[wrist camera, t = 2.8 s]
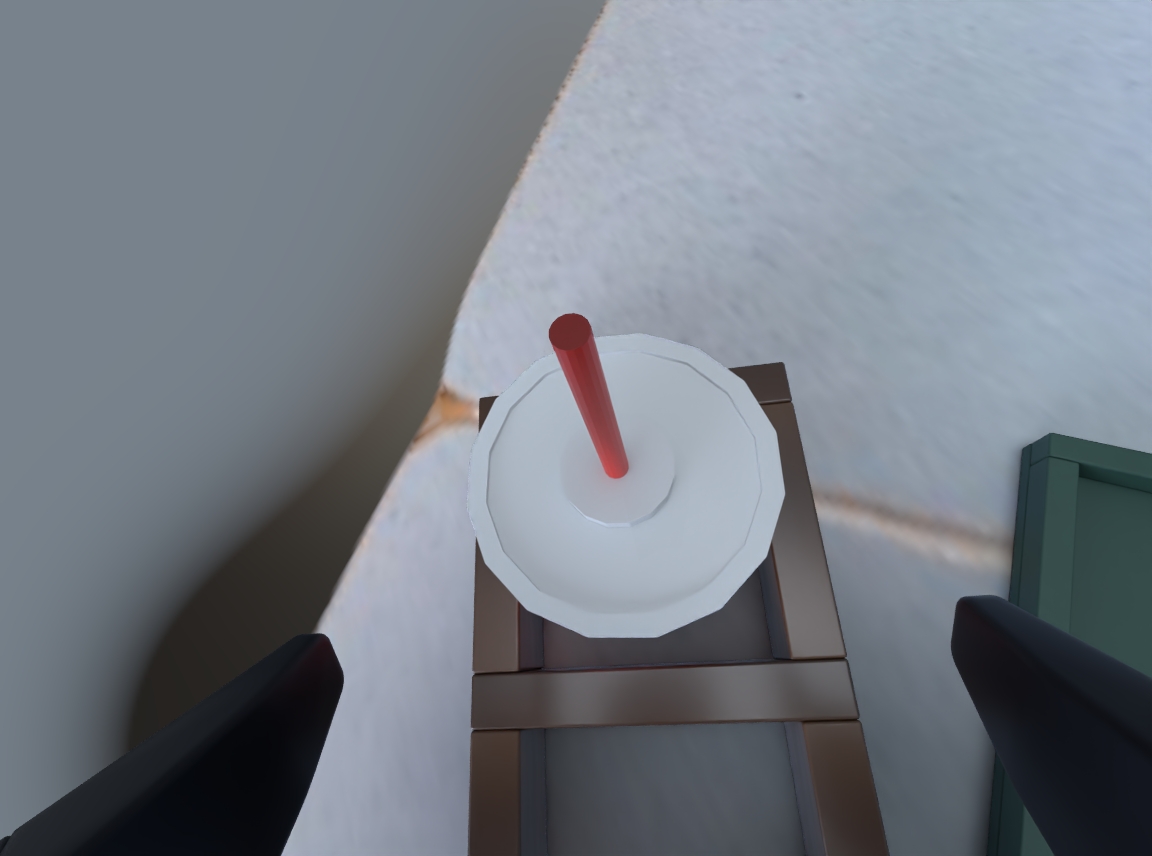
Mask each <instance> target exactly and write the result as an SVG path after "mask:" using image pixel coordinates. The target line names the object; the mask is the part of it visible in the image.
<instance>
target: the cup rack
mask: <svg viewBox="0 0 1152 856" xmlns="http://www.w3.org/2000/svg"><path fill="white" fill-rule="evenodd" d="M728 370H730V371H731V372H732V373H734V374H735V375H737V376H738V377H739V378H741V379H742V380H744V381H745V383H746V384H747V386H748V387H749V389H750V391H751V392H752V394H753V395H754V397H755V399H756V400H757V402H758V403H759V405H760V407H761V408H762V410H763V411H764V413H765V415H766V416H767V418H768V419H769V421H770V423H771V424H772V426H773V427H774V429H775V431H776V433H777V440H778V447H779V454H780V461H781V468H782V475H783V482H784V489H785V496H784V500H783V503H782V506H781V510H780V513H779V517H778V520H777V523H776V527H775V530H774V533H773V537H772V540H771V544H770V547H769V550H768V554H767V557H766V558H765V559H764V560H763V561H762V563H761V564H760V565H759V566H758V570H759V576H760V582H761V588H762V594H763V600H764V606H765V612H766V618H767V624H768V630H769V636H770V642H771V648H772V654H773V657H774V658H776V659H755V660H732V661H710V662H687V663H664V664H641V665H619V666H596V667H573V668H550V669H541V668H543V666H544V665H543V617H541V616H539V615H537V614H534V613H532V612H530V611H528V610H526V609H525V607H524V606H523V605H522V604H521V603H520V602H519V601H518V600H517V599H516V597H515V596H514V595H513V594H512V593H511V592H510V591H509V590H508V588H507V587H506V586H505V585H504V584H503V583H502V582H501V581H500V580H499V578H498V577H497V576H496V575H495V574H494V573H493V572H492V571H491V569H490V568H489V567H488V566H487V565H486V564H485V562H484V559H483V556H482V553H481V550H480V546H479V543H478V540H477V537H476V554H475V592H474V631H473V673H475V674H474V675H473V677H472V705H471V729H472V730H474V731H472V733H471V748H470V787H469V825H468V856H547V820H546V769H545V728H578V727H614V726H650V725H685V724H721V723H757V722H784V725H785V731H786V737H787V743H788V749H789V755H790V761H791V767H792V773H793V779H794V785H795V791H796V797H797V803H798V809H799V815H800V821H801V827H802V833H803V839H804V845H805V851H806V856H890V854H889V849H888V845H887V840H886V835H885V831H884V826H883V821H882V817H881V812H880V808H879V803H878V798H877V794H876V789H875V784H874V780H873V775H872V770H871V766H870V761H869V756H868V752H867V747H866V742H865V738H864V733H863V728H862V724H861V722H860V721H859V720H857V719H859V717H860V714H859V709H858V705H857V700H856V696H855V691H854V686H853V682H852V677H851V672H850V668H849V663H848V660H847V659H845V657H847V653H846V648H845V644H844V639H843V634H842V630H841V625H840V620H839V616H838V611H837V606H836V602H835V597H834V592H833V588H832V583H831V578H830V574H829V569H828V564H827V560H826V555H825V550H824V546H823V541H822V536H821V532H820V527H819V522H818V518H817V513H816V508H815V504H814V499H813V494H812V490H811V485H810V480H809V476H808V471H807V466H806V462H805V457H804V452H803V448H802V443H801V438H800V434H799V429H798V424H797V420H796V415H795V410H794V406H793V403H792V402H791V401H792V397H791V393H790V388H789V383H788V379H787V374H786V369H785V365H784V363H783V362H779V363H770V364H762V365H753V366H745V367H737V368H728ZM498 397H499V396H492V397H484V398H480V401H479V432H480V430H481V428H482V426H483V424H484V422H485V420H486V418H487V416H488V414H489V412H490V410H491V408H492V406H493V404H494V402H495V400H496V398H498Z"/></svg>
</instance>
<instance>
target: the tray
mask: <svg viewBox="0 0 1152 856" xmlns="http://www.w3.org/2000/svg"><path fill="white" fill-rule="evenodd" d="M1009 602H1010V603H1012V604H1014V605H1016V606H1017V607H1019V608H1021V609H1023V610H1025V611H1027V612H1029V613H1031V614H1032V615H1034V616H1036V617H1038V618H1040V619H1042V620H1044V621H1046V622H1048V623H1049V624H1051V625H1053V626H1055V627H1057V628H1059V629H1061V630H1063V631H1064V632H1066V633H1068V634H1070V635H1072V636H1074V637H1076V638H1078V639H1080V640H1081V641H1083V642H1085V643H1087V644H1089V645H1091V646H1093V647H1095V648H1096V649H1098V650H1100V651H1102V652H1104V653H1106V654H1108V655H1110V656H1111V657H1113V658H1115V659H1117V660H1119V661H1121V662H1123V663H1125V664H1127V665H1128V666H1130V667H1132V668H1134V669H1136V670H1138V671H1140V672H1142V673H1143V674H1145V675H1147V676H1149V677H1151V678H1152V454H1150V453H1145V452H1140V451H1136V450H1131V449H1126V448H1122V447H1117V446H1112V445H1107V444H1103V443H1098V442H1093V441H1088V440H1084V439H1079V438H1074V437H1069V436H1065V435H1060V434H1055V433H1049V434H1048V435H1046V436H1044V437H1042V438H1041V439H1039V440H1037V441H1036V442H1034V443H1033V444H1030V445H1028V446H1026V447H1025V448H1023V454H1022V465H1021V476H1020V488H1019V499H1018V510H1017V522H1016V533H1015V544H1014V556H1013V567H1012V578H1011V590H1010V601H1009ZM987 856H1054V854H1053V853H1052V851H1051V849H1050V848H1049V846H1048V844H1047V843H1046V841H1045V839H1044V837H1043V836H1042V834H1041V832H1040V831H1039V829H1038V827H1037V826H1036V824H1035V822H1034V821H1033V819H1032V817H1031V816H1030V814H1029V812H1028V811H1027V809H1026V807H1025V805H1024V804H1023V802H1022V800H1021V798H1020V797H1019V795H1018V793H1017V791H1016V790H1015V788H1014V786H1013V784H1012V782H1011V780H1010V778H1009V776H1008V774H1007V772H1006V770H1005V768H1004V766H1003V764H1002V762H1001V760H1000V758H999V756H998V754H997V752H996V760H995V771H994V782H993V794H992V805H991V816H990V828H989V839H988V850H987Z"/></svg>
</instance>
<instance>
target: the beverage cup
mask: <svg viewBox="0 0 1152 856" xmlns="http://www.w3.org/2000/svg"><path fill="white" fill-rule="evenodd" d="M549 339H550V341H551V344H552V346H553V348H554V351H555V352H554V353H552V354H550V355H548V356H545V357H543V358H541V359H539V360H537V361H535V362H534V363H533V364H532V365H531V366H530V367H529V368H528V369H527V370H526V371H525V372H524V373H523V374H522V375H520V376H519V377H518V378H517V379H516V380H515V381H514V382H513V383H512V384H511V385H510V386H509V387H508V388H507V389H506V390H505V391H504V392H503V393H502V394H501V395H500V396H499V397H498V398H496V400H495V402H494V404H493V406H492V408H491V410H490V412H489V414H488V416H487V418H486V420H485V422H484V424H483V426H482V428H481V430H480V432H479V434H478V436H477V438H476V441H475V443H474V445H473V447H472V449H471V456H470V469H469V481H468V494H467V510H468V513H469V516H470V519H471V522H472V525H473V528H474V531H475V534H476V537H477V540H478V543H479V546H480V550H481V553H482V556H483V559H484V562H485V564H486V565H487V566H488V567H489V568H490V569H491V571H492V572H493V573H494V574H495V575H496V576H497V577H498V578H499V580H500V581H501V582H502V583H503V584H504V585H505V586H506V587H507V588H508V590H509V591H510V592H511V593H512V594H513V595H514V596H515V597H516V599H517V600H518V601H519V602H520V603H521V604H522V605H523V606H524V607H525V609H526V610H528V611H530V612H532V613H534V614H537V615H539V616H541V617H543V618H546V619H548V620H550V621H552V622H555V623H557V624H559V625H561V626H563V627H566V628H568V629H570V630H572V631H575V632H577V633H579V634H581V635H584V636H586V637H589V638H658V637H660V636H662V635H665V634H667V633H669V632H671V631H674V630H676V629H678V628H680V627H682V626H685V625H687V624H689V623H691V622H694V621H696V620H698V619H700V618H702V617H705V616H707V615H709V614H711V613H714V612H716V611H718V610H720V609H721V608H722V607H723V606H724V605H725V604H726V602H727V601H728V600H729V599H730V598H731V597H732V596H733V594H734V593H735V592H736V591H737V590H738V589H739V588H740V586H741V585H742V584H743V583H744V582H745V581H746V580H747V579H748V577H749V576H750V575H751V574H752V573H753V572H754V571H755V569H756V568H757V567H758V566H759V565H760V564H761V563H762V561H763V560H764V559H765V558H766V557H767V554H768V550H769V547H770V544H771V540H772V537H773V533H774V530H775V527H776V523H777V520H778V517H779V513H780V510H781V506H782V503H783V500H784V496H785V489H784V482H783V475H782V468H781V461H780V454H779V447H778V440H777V433H776V431H775V429H774V427H773V426H772V424H771V423H770V421H769V419H768V418H767V416H766V415H765V413H764V411H763V410H762V408H761V407H760V405H759V403H758V402H757V400H756V399H755V397H754V395H753V394H752V392H751V391H750V389H749V387H748V386H747V384H746V383H745V381H744V380H742V379H741V378H739V377H738V376H737V375H735V374H734V373H732V372H731V371H730V370H728V369H727V368H725V367H724V366H723V365H721V364H720V363H718V362H717V361H716V360H714V359H713V358H711V357H710V356H709V355H707V354H706V353H704V352H703V351H702V350H700V349H699V348H697V347H694V346H690V345H686V344H682V343H679V342H675V341H671V340H667V339H663V338H659V337H656V336H652V335H648V334H644V333H637V334H625V335H614V336H603V337H594V336H593V332H592V329H591V326H590V324H589V322H588V320H587V319H586V318H585V317H583V316H582V315H579V314H575V313H572V314H565V315H563V316H560V317H558V318H557V319H556V320H555V321H554V322H553V323H552V325H551V327H550V329H549Z"/></svg>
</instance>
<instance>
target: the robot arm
mask: <svg viewBox="0 0 1152 856" xmlns="http://www.w3.org/2000/svg"><path fill="white" fill-rule="evenodd" d="M951 652H952V656H953V660H954V662H955V665H956V667H957V669H958V671H959V673H960V675H961V678H962V680H963V682H964V684H965V686H966V688H967V690H968V692H969V695H970V697H971V699H972V701H973V703H974V705H975V707H976V709H977V711H978V714H979V716H980V718H981V720H982V722H983V724H984V726H985V728H986V731H987V733H988V735H989V737H990V739H991V741H992V743H993V745H994V748H995V750H996V752H997V754H998V756H999V758H1000V760H1001V762H1002V764H1003V766H1004V768H1005V770H1006V772H1007V774H1008V776H1009V778H1010V780H1011V782H1012V784H1013V786H1014V788H1015V790H1016V791H1017V793H1018V795H1019V797H1020V798H1021V800H1022V802H1023V804H1024V805H1025V807H1026V809H1027V811H1028V812H1029V814H1030V816H1031V817H1032V819H1033V821H1034V822H1035V824H1036V826H1037V827H1038V829H1039V831H1040V832H1041V834H1042V836H1043V837H1044V839H1045V841H1046V843H1047V844H1048V846H1049V848H1050V849H1051V851H1052V853H1053V854H1054V856H1152V678H1151V677H1149V676H1147V675H1145V674H1143V673H1142V672H1140V671H1138V670H1136V669H1134V668H1132V667H1130V666H1128V665H1127V664H1125V663H1123V662H1121V661H1119V660H1117V659H1115V658H1113V657H1111V656H1110V655H1108V654H1106V653H1104V652H1102V651H1100V650H1098V649H1096V648H1095V647H1093V646H1091V645H1089V644H1087V643H1085V642H1083V641H1081V640H1080V639H1078V638H1076V637H1074V636H1072V635H1070V634H1068V633H1066V632H1064V631H1063V630H1061V629H1059V628H1057V627H1055V626H1053V625H1051V624H1049V623H1048V622H1046V621H1044V620H1042V619H1040V618H1038V617H1036V616H1034V615H1032V614H1031V613H1029V612H1027V611H1025V610H1023V609H1021V608H1019V607H1017V606H1016V605H1014V604H1012V603H1010V602H1008V601H1006V600H1004V599H1002V598H1000V597H998V596H994V595H982V596H965V597H962V598H960V599H959V601H958V602H957V605H956V610H955V617H954V624H953V631H952V638H951ZM343 684H344V675H343V670H342V668H341V665H340V663H339V661H338V658H337V656H336V654H335V651H334V649H333V647H332V644H331V642H330V640H329V638H328V637H327V636H326V635H324V634H321V633H318V634H302V635H298V636H296V637H294V638H292V639H291V640H290V641H288V642H287V643H285V644H284V645H282V646H281V647H279V648H278V649H276V650H275V651H274V652H272V653H271V654H269V655H268V656H267V657H265V658H263V659H262V660H261V661H259V662H258V663H256V664H255V665H253V666H252V667H251V668H249V669H248V670H246V671H245V672H243V673H242V674H240V675H239V676H238V677H236V678H235V679H233V680H232V681H230V682H229V683H227V684H226V685H224V686H223V687H222V688H220V689H219V690H217V691H216V692H214V693H213V694H211V695H210V696H209V697H207V698H206V699H204V700H203V701H201V702H200V703H198V704H197V705H195V706H194V707H193V708H191V709H190V710H189V711H187V712H185V713H184V714H182V715H181V716H180V717H178V718H177V719H175V720H174V721H172V722H171V723H169V724H168V725H167V726H165V727H164V728H162V729H161V730H159V731H158V732H156V733H155V734H154V735H152V736H151V737H150V738H148V739H146V740H145V741H143V742H142V743H141V744H139V745H138V746H136V747H135V748H133V749H132V750H130V751H129V752H128V753H126V754H125V755H124V756H122V757H120V758H119V759H118V760H116V761H114V762H113V763H112V764H110V765H109V766H107V767H106V768H104V769H103V770H102V771H100V772H99V773H97V774H96V775H94V776H93V777H91V778H90V779H88V780H87V781H86V782H84V783H83V784H81V785H80V786H78V787H77V788H76V789H74V790H73V791H71V792H70V793H68V794H67V795H65V796H64V797H62V798H61V799H60V800H58V801H57V802H55V803H54V804H52V805H51V806H50V807H48V808H47V809H45V810H44V811H42V812H41V813H39V814H38V815H36V816H35V817H33V818H32V819H31V820H29V821H28V822H26V823H25V824H23V825H22V826H20V827H19V828H18V829H16V830H15V831H14V833H13V834H12V835H11V836H7V837H4V838H3V839H1V840H0V856H281V854H282V852H283V850H284V847H285V845H286V843H287V840H288V838H289V836H290V833H291V831H292V829H293V826H294V824H295V822H296V820H297V817H298V815H299V813H300V810H301V808H302V805H303V803H304V800H305V798H306V796H307V793H308V790H309V788H310V785H311V782H312V779H313V777H314V774H315V771H316V768H317V765H318V762H319V759H320V756H321V753H322V750H323V747H324V744H325V741H326V738H327V735H328V732H329V729H330V726H331V723H332V720H333V717H334V714H335V711H336V708H337V705H338V702H339V699H340V695H341V692H342V689H343Z"/></svg>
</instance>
